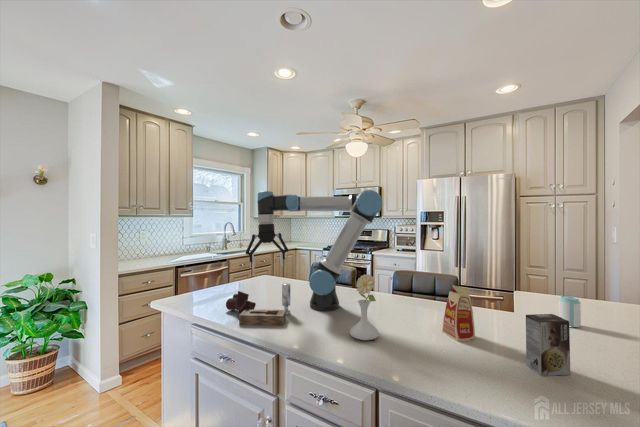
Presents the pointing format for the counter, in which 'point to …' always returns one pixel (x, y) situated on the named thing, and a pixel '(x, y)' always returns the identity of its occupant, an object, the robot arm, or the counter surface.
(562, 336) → the grey cardboard box
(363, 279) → the flower in vase
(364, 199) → the robot arm
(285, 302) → the steel peg
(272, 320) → the keyhole block
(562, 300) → the can
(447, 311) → the milk carton
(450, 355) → the counter surface
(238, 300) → the dark brown lumpy piece
